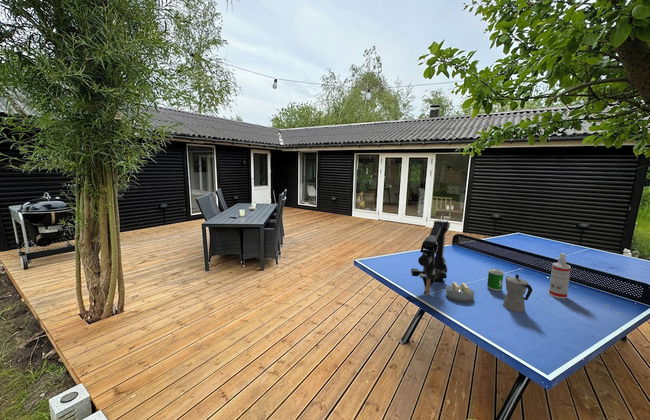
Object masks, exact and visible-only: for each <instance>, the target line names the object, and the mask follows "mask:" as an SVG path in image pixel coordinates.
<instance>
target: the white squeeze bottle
mask: <svg viewBox="0 0 650 420" xmlns="http://www.w3.org/2000/svg"><path fill="white" fill-rule="evenodd" d="M566 255H567V254H566V253H563V252H562V253H561V252H560V254H559V257H558V259H557V262H552V266H551V274H550V281H549V289H548V295H549V296H550V297H553V298H557V299H561V298H562V300H565V299H564V298H566V299H567V298H568V291H569V290H568V289H569V284H570V277H571V269H572V268H571V265H569V264H567V259H566V258H567V257H566Z"/></svg>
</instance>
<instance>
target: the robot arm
mask: <svg viewBox="0 0 650 420" xmlns="http://www.w3.org/2000/svg"><path fill="white" fill-rule="evenodd" d="M450 225H451V223H450V222H449V220H443V219H441V220H440V219H437V220H434V221H433V225H432V227H431V228H432V229H431V230H430V233H429V235H428V236H426V237H425V238H424V240H423V241H422V244H421V246H420V247H421V248H420V251H419V252H420V253H422V254H421V255H420V256H419V258H418V261H417V262H418V263H419V265H420V266H421V267H422V270H419V268H414V267H413V268H411V269H410V274H411V277H419V278H420V279H422V282H423V284H424V285H423V286H424V288H425V287H426V278H428V279H429V278H430V279H431V283H430V288H431V287H432V285H433V282H440V283H445V282H446V280H445V279H447V278H448V277H447V276H448V275H447V273H448V266H447V264H446V262H447V261H446V259H445V257H444V254H445V253H444V252H445V250H444V249H445V242H446V240H445V239H446V235H447V233H448V231H449V229H450ZM425 276H426V277H425Z"/></svg>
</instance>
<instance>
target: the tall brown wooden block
mask: <svg viewBox="0 0 650 420" xmlns="http://www.w3.org/2000/svg"><path fill="white" fill-rule="evenodd" d="M425 277H426V275H425ZM430 283H431V279H430V278H429V279H428V278H426V287H425V286H424V292H426V293H425V295H430V294H431V287H430Z"/></svg>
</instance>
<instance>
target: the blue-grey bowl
mask: <svg viewBox="0 0 650 420" xmlns="http://www.w3.org/2000/svg"><path fill="white" fill-rule="evenodd" d="M460 284H461V285H460ZM460 284H458V283H457V282H456V281H452V284H449V285H447V286H446V289H445V296H446V295H447V296H446V297H447V298H448V297H449V299H450V300H452V301H454V302H459V303H472V302H474V300H475V291H474V290H473V289H472V288H470V287H469V286H468V285H467V284H466V283H465V282H461V283H460Z"/></svg>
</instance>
